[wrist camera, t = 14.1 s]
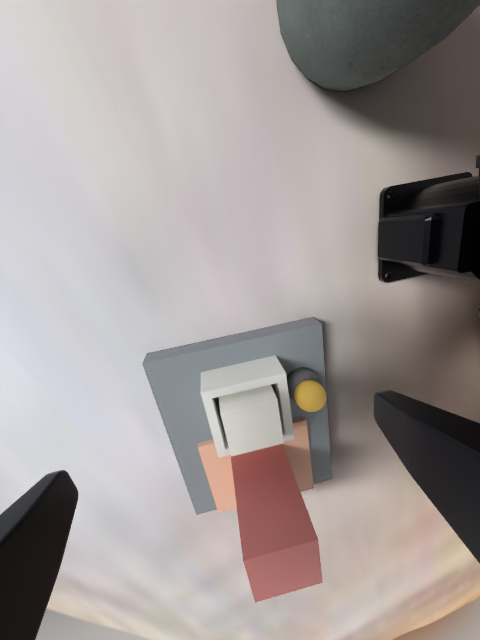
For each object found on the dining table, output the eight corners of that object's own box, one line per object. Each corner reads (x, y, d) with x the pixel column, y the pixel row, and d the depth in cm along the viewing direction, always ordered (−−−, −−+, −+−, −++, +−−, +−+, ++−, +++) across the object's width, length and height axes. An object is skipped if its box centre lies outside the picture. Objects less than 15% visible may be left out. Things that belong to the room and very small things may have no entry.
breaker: (265, 373, 18) (277, 399, 16) (272, 413, 20) (284, 443, 17) (217, 385, 18) (220, 413, 15) (227, 423, 19) (231, 456, 17)
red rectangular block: (282, 443, 21) (318, 539, 14) (287, 480, 23) (322, 582, 16) (230, 456, 21) (243, 560, 14) (239, 493, 22) (255, 602, 16)
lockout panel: (313, 317, 20) (342, 339, 16) (324, 464, 25) (348, 510, 21) (147, 353, 19) (131, 387, 15) (197, 498, 24) (195, 552, 20)
